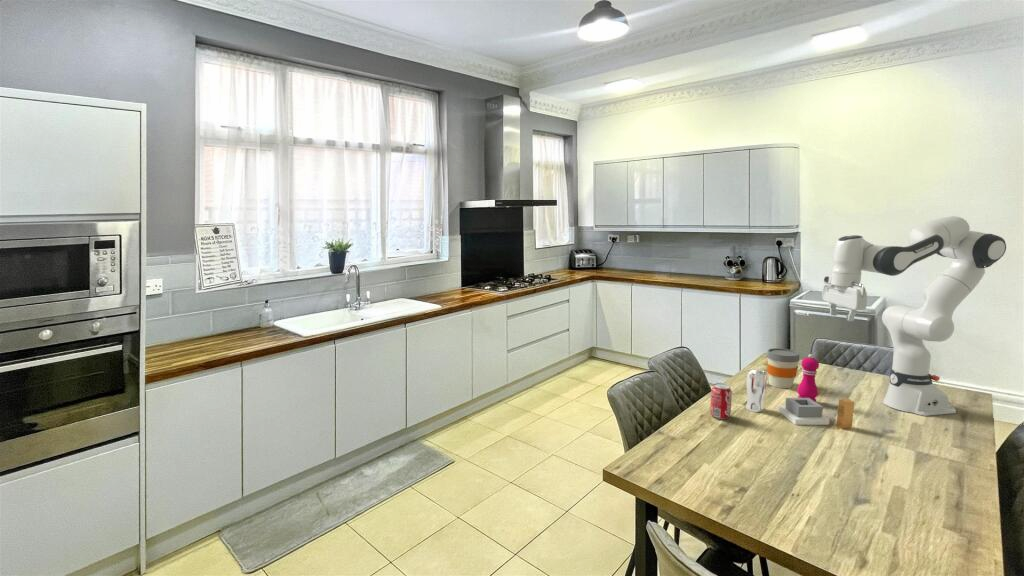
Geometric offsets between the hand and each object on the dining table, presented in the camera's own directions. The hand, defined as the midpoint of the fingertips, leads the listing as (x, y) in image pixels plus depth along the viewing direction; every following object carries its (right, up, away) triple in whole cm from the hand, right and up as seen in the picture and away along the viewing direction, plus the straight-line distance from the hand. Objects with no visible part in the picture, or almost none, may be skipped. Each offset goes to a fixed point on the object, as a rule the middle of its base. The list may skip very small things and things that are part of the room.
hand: (841, 317), depth 179 cm
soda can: (-43, -37, +4) cm, 57 cm away
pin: (-3, -38, -6) cm, 39 cm away
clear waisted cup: (-27, -36, +10) cm, 46 cm away
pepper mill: (-3, -35, +17) cm, 39 cm away
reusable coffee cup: (-2, -32, +37) cm, 49 cm away
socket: (-13, -37, +2) cm, 39 cm away
